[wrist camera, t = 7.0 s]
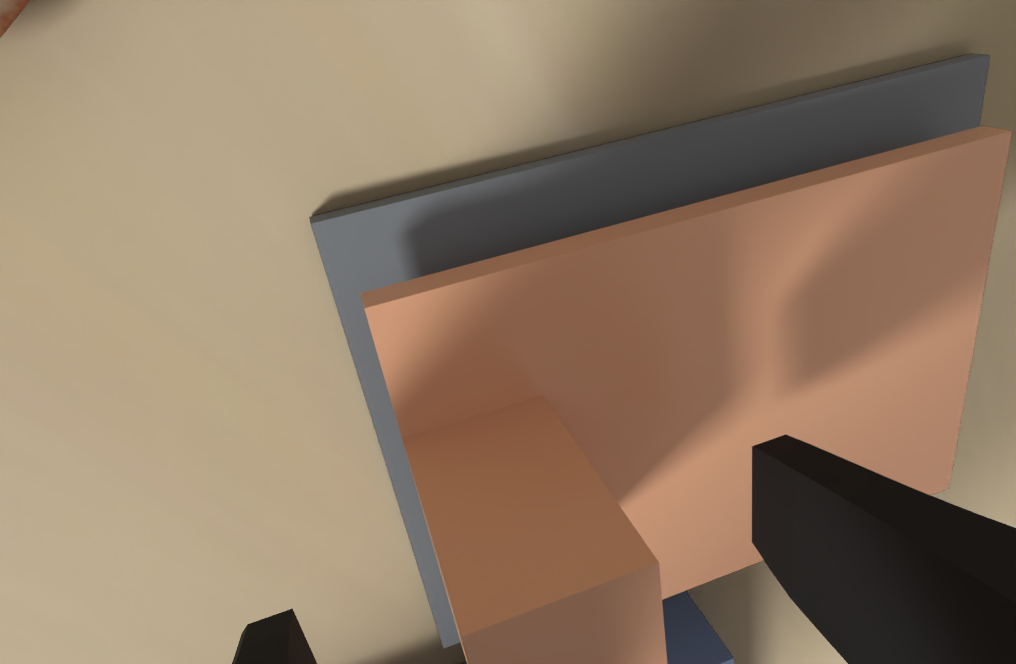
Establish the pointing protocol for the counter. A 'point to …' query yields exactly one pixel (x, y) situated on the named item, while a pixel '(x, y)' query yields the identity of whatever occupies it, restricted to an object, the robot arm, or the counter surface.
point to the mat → (611, 212)
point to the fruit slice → (9, 12)
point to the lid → (680, 386)
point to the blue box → (690, 634)
